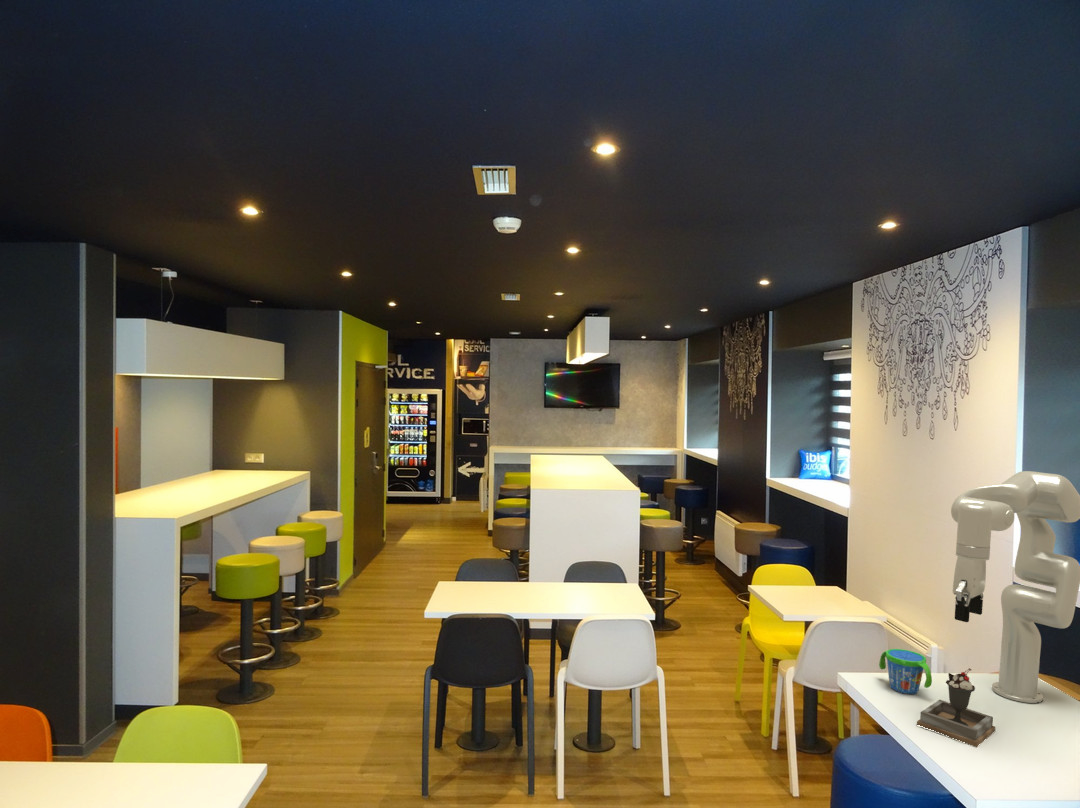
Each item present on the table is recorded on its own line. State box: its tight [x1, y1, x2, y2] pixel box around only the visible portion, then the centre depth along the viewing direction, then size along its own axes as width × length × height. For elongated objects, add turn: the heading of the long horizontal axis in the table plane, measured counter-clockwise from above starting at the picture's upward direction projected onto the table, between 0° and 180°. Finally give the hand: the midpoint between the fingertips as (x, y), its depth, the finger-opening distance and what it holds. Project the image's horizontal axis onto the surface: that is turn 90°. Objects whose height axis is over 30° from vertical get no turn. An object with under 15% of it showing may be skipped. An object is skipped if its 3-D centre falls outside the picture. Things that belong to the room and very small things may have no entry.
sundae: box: [945, 667, 976, 726], centre depth 195 cm, size 7×7×15 cm
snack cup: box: [878, 648, 933, 695], centre depth 219 cm, size 16×10×10 cm
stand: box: [916, 699, 997, 748], centre depth 195 cm, size 14×14×4 cm
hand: (968, 616), depth 196 cm, fingers open, 9 cm apart
